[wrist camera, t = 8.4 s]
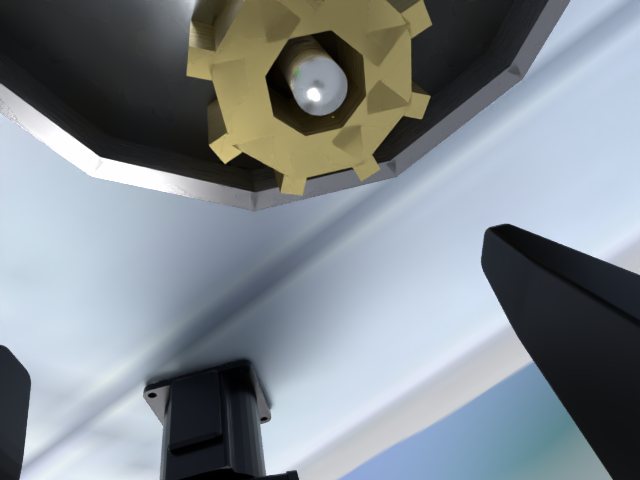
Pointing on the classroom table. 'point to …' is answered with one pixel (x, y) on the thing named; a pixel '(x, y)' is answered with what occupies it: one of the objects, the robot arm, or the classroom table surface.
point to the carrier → (196, 94)
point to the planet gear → (286, 115)
